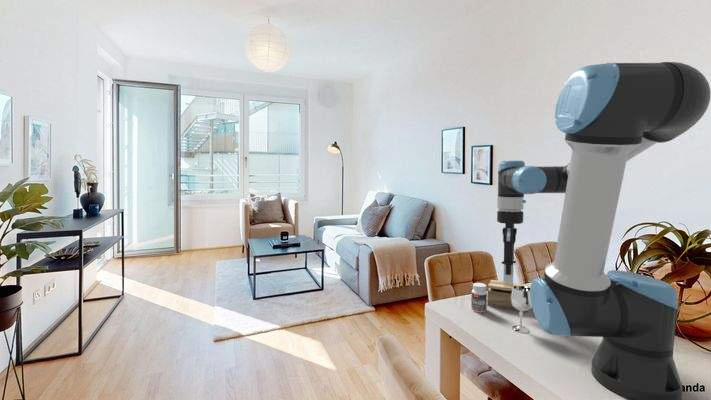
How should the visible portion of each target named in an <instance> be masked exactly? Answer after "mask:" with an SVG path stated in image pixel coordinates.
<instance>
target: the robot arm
mask: <svg viewBox="0 0 711 400" xmlns="http://www.w3.org/2000/svg"><path fill="white" fill-rule="evenodd" d="M709 83H710V82H709V81H708V79H707V78H706V76H705V75H704V74H703V73H702V72H700V70H699V69H697V68H696V67H693V66H691V65H689V64H687V63H686V64H685V63H683V62H676V61H662V62H606V63H599V64H590V65H585V66H583V67H581V68H578V69H577V70H576V71H574V72H573V73H572V74H571V75H570V76H569V77H568V79H567V80H566V81H565V83H564V85H563V86H562V88H561V90H560V92H559V94H558V97H557V101H556V103H555V109H554V110H555V111H554V118H555V119H556V120H555V125H556V127H557V129H558V130H559V131H560V132H561V133H565V137H564V142H565V143H566V144H567V146H569V148H570V149H571V154H570V155H571V157H570V162H569V163H568V164H567V165H562V166H561V165H559V166H558V165H557V166H552V165H551V166H533V165H525V164H526V163H525V161H524V160H502V161H500V162H499V163H498V170H497V201H496V202H497V206H496V207H497V209H498V210H497V212H496V214H497V215H496V216H497V217H496V221H497V222H498V223H500V224H505V226H504V227H503V228H502V238H503V239H502V242H503V261H501V264H502V265H503V279H502V280H503V284H508V285H513V283H514V264H516V262H517V260H515V257H514V255H515V253H514V252H515V243H516V241H517V240H516V237H517V232H518V229H517V228H516V227H515V225H520V224H523V223H524V211H523V210H524V207H525V206H524V204H526V203H527V200H526V199H525V195H534V194H564V200H563V206H562V212H561V218H560V224H559V230H558V235H557V244H556V249H555V257H554V261H553V262H551V263H548V264H547V265H545V267H544V273H543V278H541V277H537V278H534V279H533V280H532V281H531V282H530V287H529V288H530V298H531V304H532V308H531V309H532V311H533V314H534V316H535V319H536V321H537V323H538V325H539V326H540V327H541V329H542V330H543V332H545V333H547V334H548V335H551V336H560V337H565V338H570V337H589V338H591V337H593V338H594V337H595V338H598V337H599V338H602V340H601V341H600V344H599V346H598V347H597V350H596V351H595V353H594V354H593V357H592V359H591V365H590V366H591V368H590V372H591V374H592V377H593V378H594V379H595V380H596V381H597V382H599V384H601V385H602V386H604V387H605V388H606V389H608V390H610V391H612V392H613V393H616V394H618V395H620V396H623V397H625V398H628V399H630V400H633V399H634V400H682V397H683V396H682V395H683V384H682V380H681V377H680V374H679V371H678V369H677V365H676V362H675V359H674V350H675V349H674V347H675V338H676V337H675V336H676V326H677V318H678V317H677V316H678V310H679V306H678V291H677V289H676V288H675V287H674V286H672V285H671V284H670V283H668V282H666V281H663V280H660V279H658V278H655V277H651V276H648V275H644V274H640V273H636V272H630V271H625V270H618V269H617V270H616V269H615V270H614V269H612V270H609V271H607V273H605V272H604V270H605V267H606V262H607V257H608V251H609V247H610V244H611V243H610V242H611V237H612V233H613V228H614V224H615V220H616V219H615V218H616V214H617V213H616V212H617V209H618V205H619V204H618V203H619V201H620V200H619V198H620V194H621V189H622V184H623V180H624V175H625V170H626V165H627V162H628V161H630V160H631V159H633V158H635V157H636V156H638V155H639V154H641V153H642V152H644V151H646V150H648V149H649V148H650V147H651V148H652V146H654V145H655V144H662V143H663V144H664V143H668V142H671V141H673V140H675V139H677V137H679V136H681V135H683V134H684V133H686V132H687V131H688V130H690V129H692V127H694V126H695V125H696V124H697V123H698V122H699V121H700V120H701V119H702V118H703V116H704V115H705V113H706V111H707V110H708V108H709V106H710V102H711V88H710V84H709Z"/></svg>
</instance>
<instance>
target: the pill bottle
mask: <svg viewBox="0 0 711 400" xmlns="http://www.w3.org/2000/svg"><path fill="white" fill-rule="evenodd" d="M472 288H473V289H472V290H471V298H470V299H471V300H470V301H471V303H470V309H471V310H472V312H475V313H481V314H482V312H483V313H486V312H487V311H488V310H487V307H488V305H487V298H488V290H487V284H485V283H484V282H483V283H482V282H474V283H473V284H472Z"/></svg>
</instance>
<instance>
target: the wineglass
mask: <svg viewBox="0 0 711 400" xmlns="http://www.w3.org/2000/svg"><path fill="white" fill-rule="evenodd" d="M511 304H512V306H513V307H514V308H515V309H517V310H516V311H519V310H520V311H519V314H518V315H519V324H518V325H513V326H512V327H511V329H512V330H513V331H514V332H517V333H520V334H528V333H529V332H530V330H529V328H528V327H526V326H523V321H522V320H523V316H524V312H525V311H527V312H528V311H530V310H531V309H533V308H532V304H531V298H530V287H526V286H514V287H513V289H512V292H511Z"/></svg>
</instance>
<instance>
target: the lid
mask: <svg viewBox="0 0 711 400" xmlns="http://www.w3.org/2000/svg"><path fill="white" fill-rule="evenodd" d="M514 286H526V287H529V284H525V283H518V282H513V285H508V284H503V281H502V280H501V281H500V280H495V279H490V281H489V282H488V285H487V288H488V289H489V288H494V289H501V290H508V291H512V289H513V287H514ZM529 288H530V287H529Z"/></svg>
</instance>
